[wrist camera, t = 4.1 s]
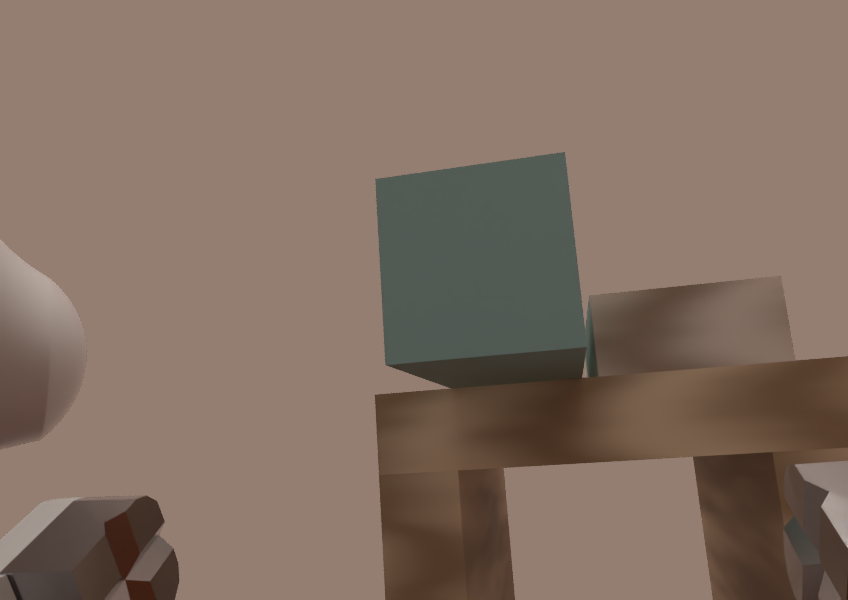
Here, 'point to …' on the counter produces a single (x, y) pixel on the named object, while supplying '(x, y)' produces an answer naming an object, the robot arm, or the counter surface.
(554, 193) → the stub bar
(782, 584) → the shelf
